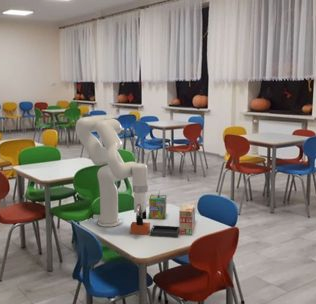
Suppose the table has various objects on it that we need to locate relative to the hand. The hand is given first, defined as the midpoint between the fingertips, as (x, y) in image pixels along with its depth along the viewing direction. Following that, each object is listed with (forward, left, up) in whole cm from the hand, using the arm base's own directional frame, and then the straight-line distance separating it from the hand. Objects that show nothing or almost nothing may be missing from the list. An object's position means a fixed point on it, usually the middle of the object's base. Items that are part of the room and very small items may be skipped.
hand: (141, 222), depth 211 cm
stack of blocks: (+22, +11, -6) cm, 26 cm away
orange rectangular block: (-1, 0, -6) cm, 6 cm away
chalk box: (+4, +26, -6) cm, 27 cm away
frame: (+12, +1, -6) cm, 13 cm away
